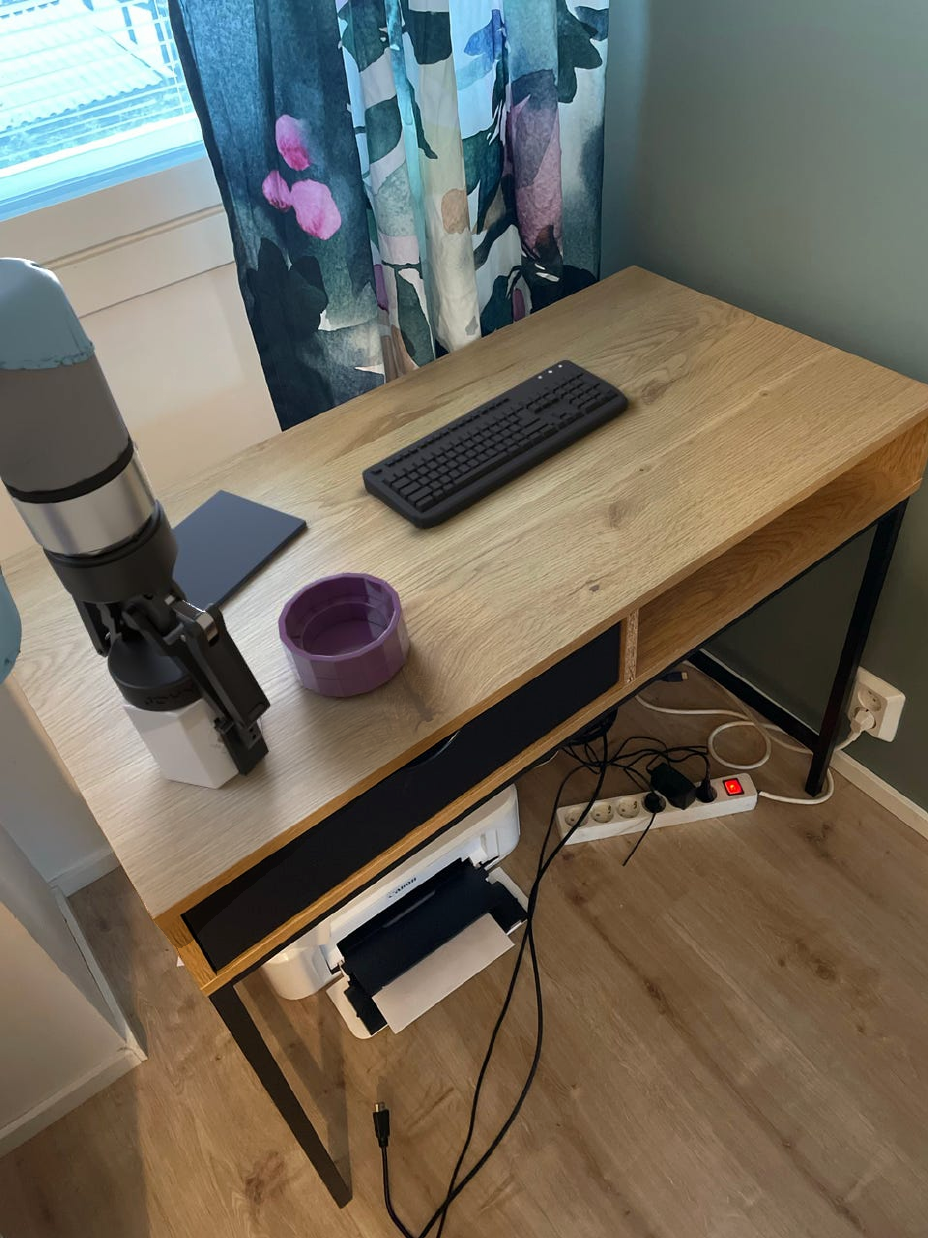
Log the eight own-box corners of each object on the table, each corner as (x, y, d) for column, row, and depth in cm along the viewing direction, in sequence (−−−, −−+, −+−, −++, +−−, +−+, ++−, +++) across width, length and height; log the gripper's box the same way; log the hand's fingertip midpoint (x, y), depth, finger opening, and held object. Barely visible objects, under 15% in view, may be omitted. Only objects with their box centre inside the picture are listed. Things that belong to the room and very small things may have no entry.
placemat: (196, 627, 82) (194, 623, 81) (109, 586, 87) (106, 582, 87) (307, 525, 91) (306, 520, 90) (222, 493, 96) (220, 489, 95)
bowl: (362, 718, 72) (350, 678, 69) (268, 674, 77) (253, 634, 73) (432, 636, 78) (424, 595, 74) (341, 599, 82) (330, 558, 79)
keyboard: (425, 533, 88) (422, 517, 86) (362, 486, 94) (358, 471, 93) (634, 405, 99) (635, 389, 98) (565, 371, 106) (565, 356, 104)
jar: (194, 811, 68) (137, 713, 59) (141, 752, 72) (80, 653, 64) (288, 739, 72) (247, 637, 63) (232, 687, 76) (187, 585, 68)
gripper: (267, 533, 53) (344, 757, 69) (39, 445, 62) (153, 660, 78) (177, 615, 49) (281, 833, 65) (-53, 507, 58) (87, 721, 74)
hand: (211, 738), depth 71 cm, fingers closed on jar, 9 cm apart
